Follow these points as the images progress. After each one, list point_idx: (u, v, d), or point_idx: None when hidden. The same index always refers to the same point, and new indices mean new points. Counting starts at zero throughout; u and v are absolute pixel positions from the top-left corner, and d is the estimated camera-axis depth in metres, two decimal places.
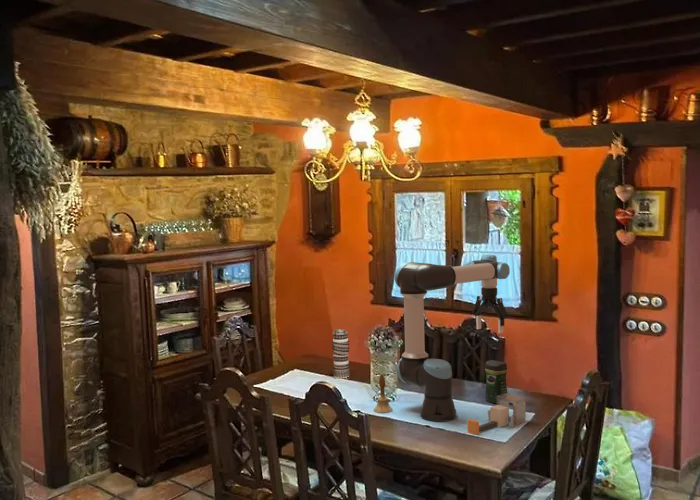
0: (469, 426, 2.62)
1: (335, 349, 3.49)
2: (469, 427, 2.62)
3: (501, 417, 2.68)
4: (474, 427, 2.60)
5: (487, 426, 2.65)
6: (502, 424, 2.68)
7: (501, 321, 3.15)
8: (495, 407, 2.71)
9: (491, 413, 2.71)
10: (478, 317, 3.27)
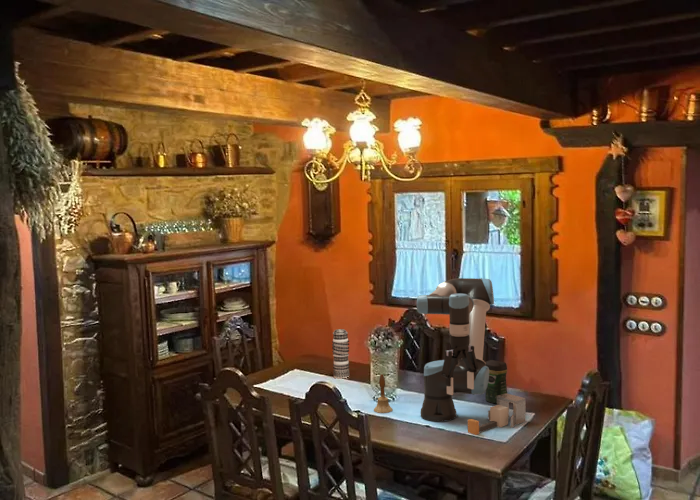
0: (469, 426, 2.62)
1: (335, 349, 3.49)
2: (469, 427, 2.62)
3: (501, 417, 2.68)
4: (474, 427, 2.60)
5: (487, 426, 2.65)
6: (502, 424, 2.68)
7: None
8: (495, 407, 2.71)
9: (491, 413, 2.71)
10: (468, 373, 2.60)
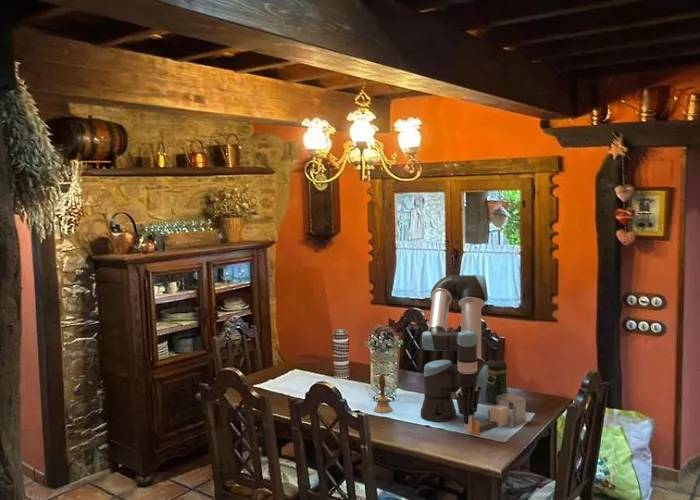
0: None
1: (335, 349, 3.49)
2: None
3: (501, 417, 2.68)
4: (474, 427, 2.60)
5: (487, 426, 2.65)
6: (502, 424, 2.68)
7: None
8: (495, 407, 2.71)
9: (491, 413, 2.71)
10: None
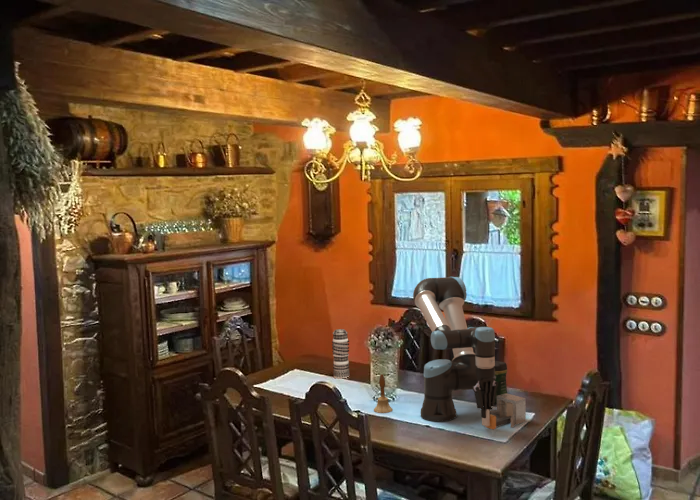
0: None
1: None
2: None
3: None
4: (491, 422, 2.65)
5: (504, 421, 2.71)
6: None
7: None
8: None
9: (508, 408, 2.76)
10: None
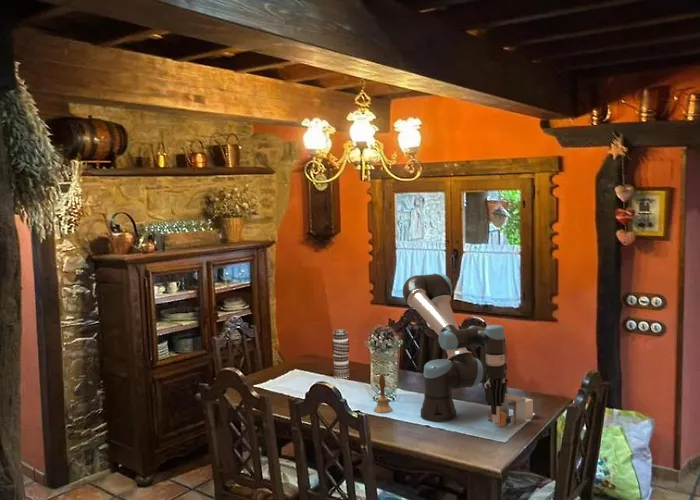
0: None
1: (335, 349, 3.49)
2: None
3: (526, 409, 2.77)
4: (501, 419, 2.69)
5: None
6: (527, 416, 2.78)
7: None
8: None
9: None
10: None
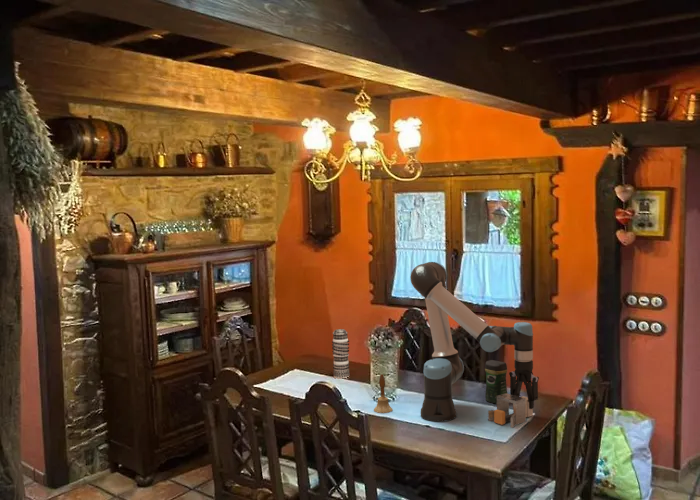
0: (495, 416, 2.72)
1: (335, 349, 3.49)
2: (495, 417, 2.72)
3: (526, 408, 2.78)
4: (501, 417, 2.69)
5: None
6: None
7: (530, 403, 2.77)
8: None
9: None
10: None
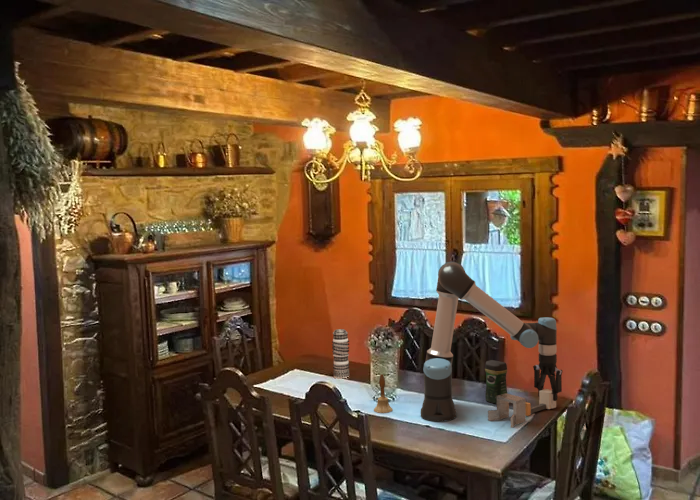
0: None
1: (335, 349, 3.49)
2: None
3: (550, 400, 2.88)
4: (526, 409, 2.79)
5: (537, 408, 2.85)
6: None
7: (554, 395, 2.87)
8: (544, 391, 2.90)
9: (540, 396, 2.91)
10: None
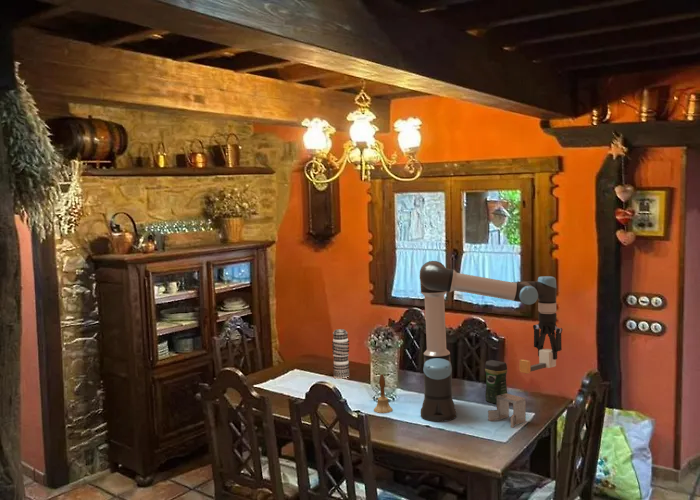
0: (521, 366, 2.80)
1: (335, 349, 3.49)
2: (521, 367, 2.80)
3: (550, 359, 2.87)
4: (526, 366, 2.78)
5: (537, 366, 2.84)
6: None
7: (554, 354, 2.86)
8: (544, 350, 2.89)
9: (540, 355, 2.89)
10: None
